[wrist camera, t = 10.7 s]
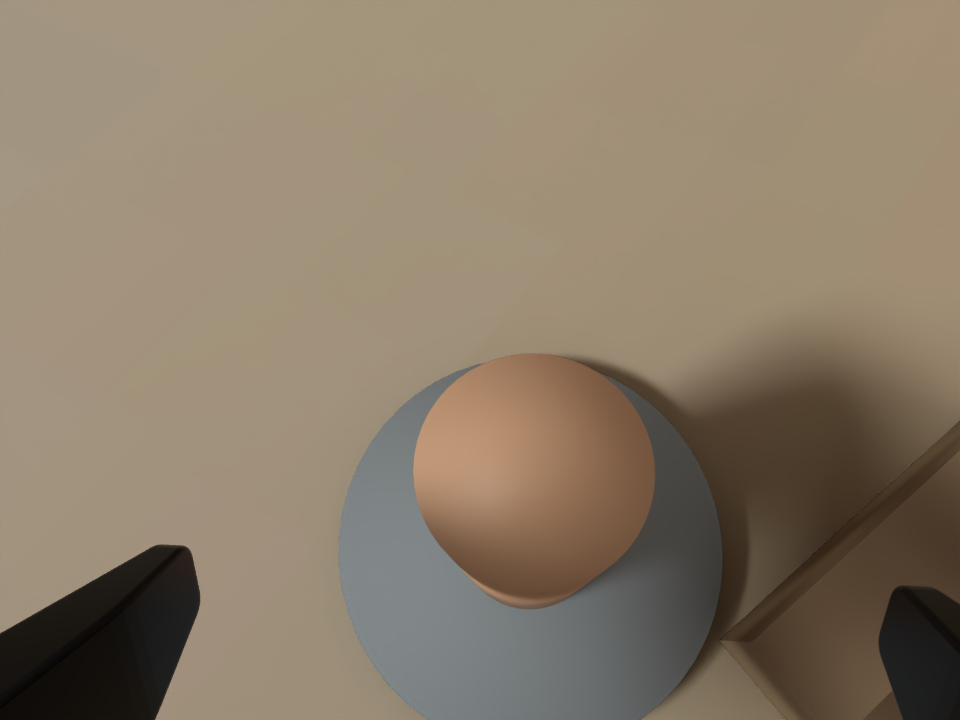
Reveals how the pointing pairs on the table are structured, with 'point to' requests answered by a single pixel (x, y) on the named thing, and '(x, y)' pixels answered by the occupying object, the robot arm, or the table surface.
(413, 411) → the slate mat
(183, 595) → the robot arm
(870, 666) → the pocket block
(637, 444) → the post
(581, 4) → the table surface
